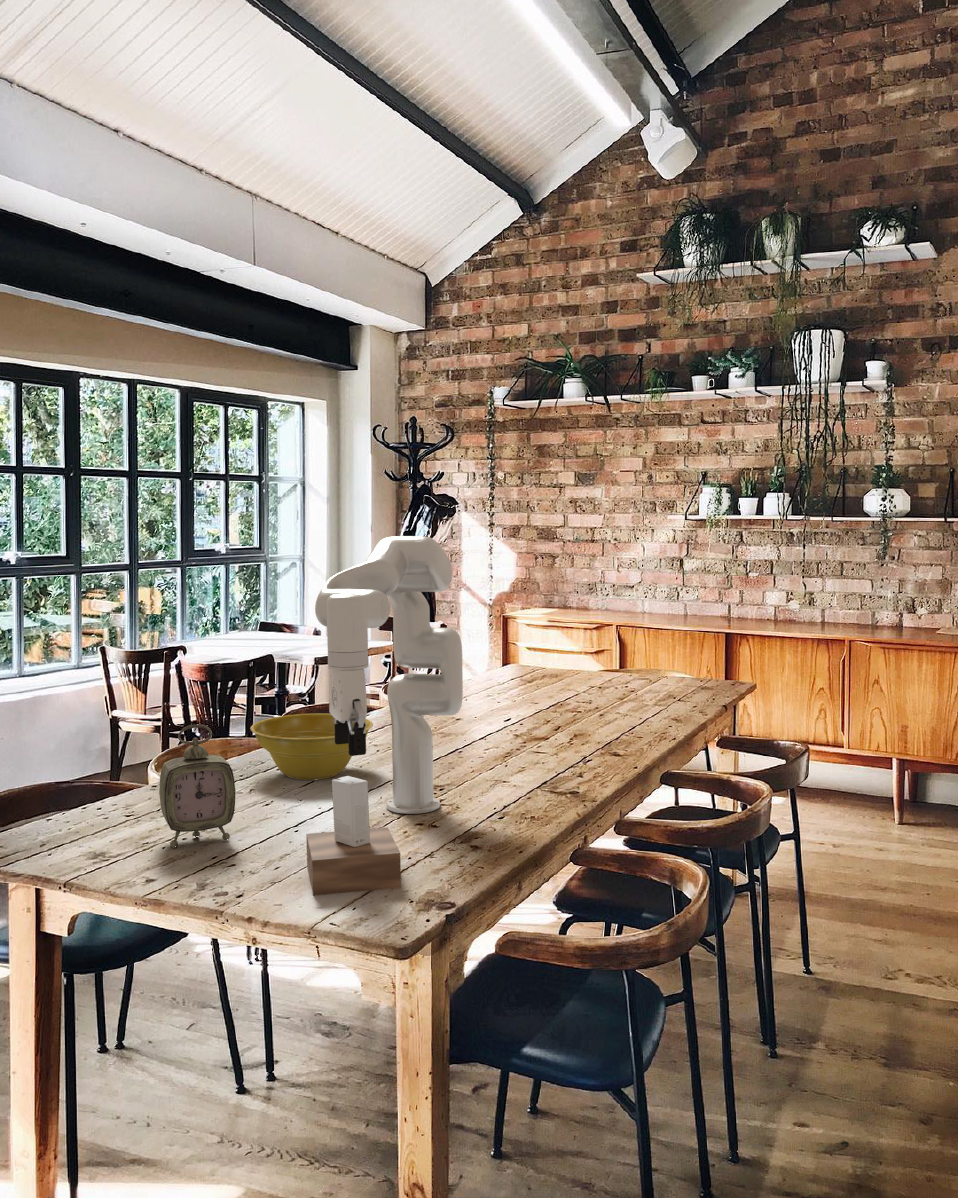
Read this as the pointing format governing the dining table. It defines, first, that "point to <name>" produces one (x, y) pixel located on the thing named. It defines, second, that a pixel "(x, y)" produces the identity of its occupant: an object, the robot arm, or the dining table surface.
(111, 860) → the dining table surface
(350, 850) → the walnut block
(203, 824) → the tabletop clock
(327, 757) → the planter bowl
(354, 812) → the skincare box
